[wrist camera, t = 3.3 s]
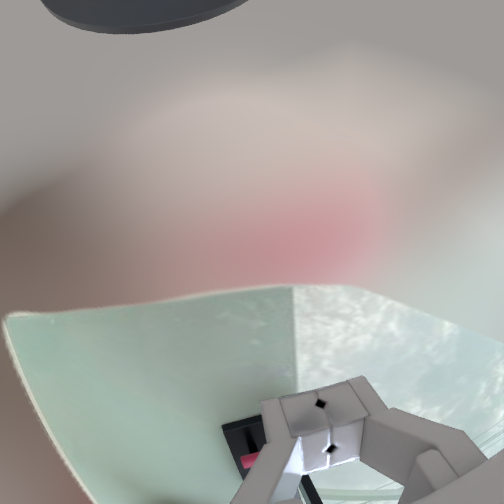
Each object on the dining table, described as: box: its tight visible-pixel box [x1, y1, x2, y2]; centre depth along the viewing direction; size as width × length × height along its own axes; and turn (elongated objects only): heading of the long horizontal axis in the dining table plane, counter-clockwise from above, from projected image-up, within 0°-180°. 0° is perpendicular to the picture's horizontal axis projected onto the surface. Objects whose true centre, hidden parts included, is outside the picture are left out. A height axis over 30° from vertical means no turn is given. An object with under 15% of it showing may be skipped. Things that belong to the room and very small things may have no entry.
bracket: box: [222, 415, 323, 504], centre depth 27 cm, size 12×9×15 cm
